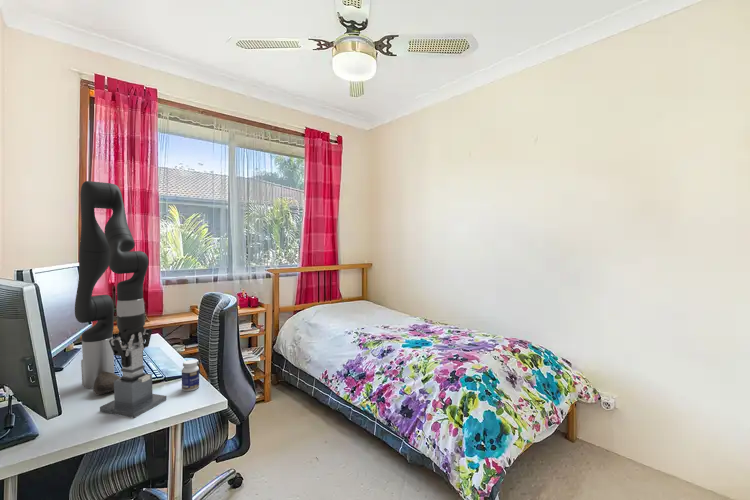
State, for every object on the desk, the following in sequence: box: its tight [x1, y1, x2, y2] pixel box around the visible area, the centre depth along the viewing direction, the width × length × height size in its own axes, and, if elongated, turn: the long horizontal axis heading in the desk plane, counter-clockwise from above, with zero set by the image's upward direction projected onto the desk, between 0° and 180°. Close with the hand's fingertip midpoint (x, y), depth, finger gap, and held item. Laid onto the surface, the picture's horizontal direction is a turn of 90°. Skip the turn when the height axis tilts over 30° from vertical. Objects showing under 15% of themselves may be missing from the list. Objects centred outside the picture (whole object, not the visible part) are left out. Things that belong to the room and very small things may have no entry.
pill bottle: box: [181, 359, 200, 392], centre depth 133 cm, size 6×6×10 cm
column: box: [120, 345, 146, 382], centre depth 119 cm, size 5×5×15 cm
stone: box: [93, 372, 122, 396], centre depth 130 cm, size 10×8×10 cm
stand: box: [99, 373, 167, 418], centre depth 120 cm, size 14×12×10 cm
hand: (132, 364), depth 119 cm, fingers closed on column, 4 cm apart
